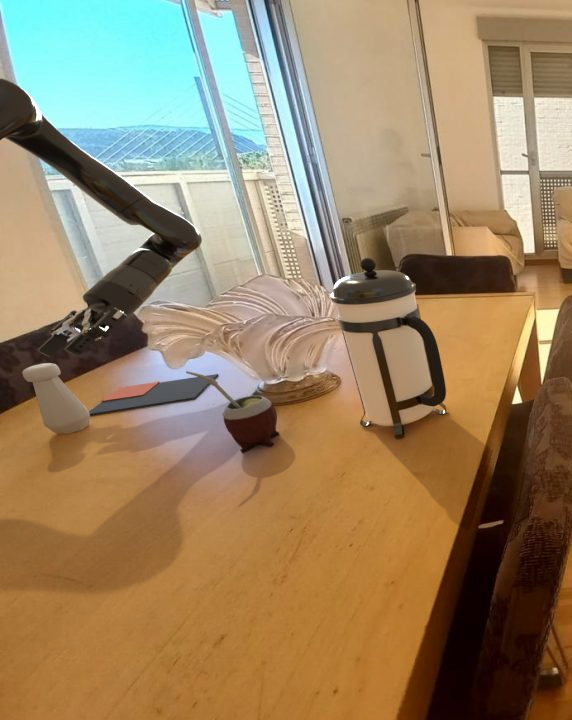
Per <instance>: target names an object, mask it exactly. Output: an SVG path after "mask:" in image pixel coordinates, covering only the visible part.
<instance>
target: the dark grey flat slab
mask: <svg viewBox="0 0 572 720" xmlns="http://www.w3.org/2000/svg"><path fill="white" fill-rule="evenodd" d="M218 375H219V373H215V374H208V375H206V376H207V377H209V378H211V379H215V378H216V377H217V376H218ZM218 377H219V376H218ZM218 377H217V378H218ZM217 378H216V379H217ZM216 379H215V380H216ZM209 384H210V383H209V381H207V380H205V379H203V378H201V377H197V376H194V377H187V378H181V379H173V380H168V381H161V382H160V381H154V382H147V383H140V384H135V385H133V384H132V385H128V386H121V387H119V388H117V389H116V390H115V391H112V392H111V393H110V394H108V395H107V396H106V397H105V398H103V399H102V400H101V402H100V403H98V404H97V405H95V406H94V407H92V409H90V410H88V411H89V414H90V417H92V416H97V415H104V414H109V413H115V412H121V411H122V412H123V411H128V410H134V409H140V408H141V409H142V408H147V407H155V406H160V405H166V404H167V405H168V404H172V403H179V402H185V401H191V400H196V399H197V398H198V397H199V396H200V395H201V394H202V393H203V392H204V391H205V390H206V389H207V388H208V387H209V386H210V385H211V384H210V385H209ZM208 385H209V386H208ZM207 386H208V387H207ZM205 388H206V389H205Z"/></svg>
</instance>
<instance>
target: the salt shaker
mask: <svg viewBox="0 0 572 720" xmlns="http://www.w3.org/2000/svg"><path fill="white" fill-rule="evenodd" d="M61 374H62V372H61V369H60V367H59V366H58V365H57V364H56V363H52V362H45V363H44V362H43V363H38V364H35V365H31V366H29V367H26V368H25V369H23V370H22V377H23V378H24V380H25V381H26V382H28V383H32V385H33V388H34V392H35V396H36V401H37V405H38V408H39V411H40V415H41V419H42V422H43V426H44V427H45V428H47V429H48V430H50V431H52V433H54V434H56V435H68V434H72V433H77V432H79V431H82V430H84V429H85V428H87V427H89V426H90V418H91V416H90V414H89V411H90V410H88V408H87V407H86V406H85V405H84V404H83V403H82V402H81V401H80V400H79V398H78V397H77V396H76V395H75V394H74V393H73V392H72V391H71V390H70V388H69V387H68V386H67V385H66V384H65V383H64V382H63V380H62V379H61V378H60V377H59V376H60V375H61Z"/></svg>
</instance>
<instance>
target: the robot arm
mask: <svg viewBox="0 0 572 720" xmlns="http://www.w3.org/2000/svg"><path fill="white" fill-rule="evenodd" d="M4 139H6V140H8V141H10V142H11V143H13V144H15V145H16V146H18V147H20V148H22V150H24V151H27V152H28V153H30V154H31V155H33V156H35V157H36V158H37V159H39V160H41V161H43V162H44V163H45V164H47V165H48V166H49V167H51V168H52V169H54V170H55V171H57V172H58V173H59V174H60V175H62V176H63V177H64V178H66V179H67V180H68V181H70V183H72V184H73V185H74V186H76V187H77V188H78V189H79V190H81V191H82V192H83V193H85V195H87V196H88V197H90V199H93V201H95V202H96V203H97V204H99V205H100V206H102V207H103V208H104V209H105V210H106V211H109V212H110V213H111V214H113V216H115V217H116V218H118V219H119V220H121V221H123V222H124V223H126V224H128V225H130V226H141V227H143V228H145V229H146V230H148V231H149V232H152V234H151V235H149V237H148V238H147V239H146V240H145V241H144V242H143V243H142V244H141V246H140V247H139V248H138V249H137V250H135V251H133V252H132V253H131V254H129V255H128V256H127V257H126V258H125V259H124V260H122V262H120V264H118V265H117V266H116V267H114V268H113V269H110V271H108V272H107V273H106V274H105V275H104V276H103V277H101V278H100V279H99V280H98V281H97V282H96V283H95V284H94V285H93V286H91V287H90V288H89V289H88V290H87V291H86V292H85V293H84V294H83V295H82V300H83V301H84V303H86V305H87V307H85V308H84V309H80V310H78V311H77V310H75V309H74V310H71V311H70V312H69V313H68V314H67V315H66V316H65V317H63V318H62V319H61V320H60V321H59V322H58V323H56V325H55V326H53V327H52V328H51V329H50V330H49V331H48V333H49V334H50V335H51V336H50V337H49V338H48V339H47V340H46V341H45V342H44V343H42V345H41V346H39V347H38V348H37V352H38V353H40V354H42V355H43V356H46V357H54V356H55V355H56V354H57V353H59V351H60V350H61V349H62V348H64V351H65V352H67V353H68V354H71V355H72V356H81V355H82V354H83V353H84V352H85V351H87V349H88V348H89V347H90V346H91V345H92V344H93V343H94V342H98V341H99V340H100V339H102V338H103V339H106V338H108V337H109V336H110V335H111V334H112V333H113V332H114V331H115V329H117V328H118V326H120V324H122V322H123V321H125V320H127V319H129V318H130V317H131V316H132V315H133V314H134V313H135V312H136V311H137V310H138V309H139V308H140V307H141V306H142V305H144V303H145V302H146V301H147V300H148V299H149V298H150V297H151V296H152V295H153V293H154V292H155V290H157V288H158V287H159V286H160V285H161V284H162V283H163V282H164V281H165V280H166V279H167V278H168V277H169V275H170V274H171V273H172V271H173V268H175V267H176V266H177V265H178V264H179V263H180V262H181V261H182V260H183V259H185V258H186V257H187V256H188V255H190V254H191V253H193V252H194V251H196V250H198V249H199V248H200V247H201V244H202V242H203V240H202V239H203V237H202V235H201V233H200V231H199V230H198V229H197V227H195V225H194V224H192V223H191V222H190V221H188V220H187V219H185V218H184V217H182V216H181V215H179V214H177V213H175V212H173V211H171V210H170V209H168V208H166V207H165V206H162V205H161V204H158V203H156V202H155V201H153V200H152V199H151V198H150V197H149V196H147V195H146V194H145V193H143V192H142V191H140V190H139V189H138V188H137V187H135V186H134V184H132V183H130V182H129V181H128V180H127V179H125V178H124V177H123V176H121V175H120V174H118V173H117V172H115V171H114V170H112V169H111V168H109V167H108V166H107V165H105V164H104V163H102V162H101V161H99V160H98V159H96V158H94V157H93V156H91V155H90V154H89V153H87V152H86V151H84V150H83V149H82V148H81V147H79V146H78V145H77V144H75V143H74V142H73V141H71V139H69V138H68V137H67V136H66V135H64V134H63V133H62V132H61V131H60V130H59V129H58V128H57V127H56V126H54V124H52V122H51V121H50V120H49V119H47V117H46V116H45V115H44V114H42V112H41V111H40V109H39V107H38V105H37V104H36V102H35V100H34V99H33V98H32V97H31V95H30V94H29V93H28V92H27V91H26V90H24V89H23V88H22V87H21V86H19V85H18V84H16V83H14V82H13V81H10V80H8V79H5V78H2V77H0V141H2V140H4ZM65 331H66V332H65ZM70 341H71V342H70ZM69 342H70V343H69ZM68 343H69V344H68Z"/></svg>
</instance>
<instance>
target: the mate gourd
mask: <svg viewBox="0 0 572 720" xmlns="http://www.w3.org/2000/svg"><path fill="white" fill-rule="evenodd" d="M185 373H186V374H188V375H191V376H194V377H201V378H203V379H205V380H207V381H209V383H210V385H211V386H212V387H214V388H216V390H217V391H218V392H219V393H220V394H222V395H223V396H224V397H225V399H226V400H228V401H229V403H227V405H226V406H225V408H224V410H223V412H222V417H223V423H224V425H225V428H226V430H227V431H228V433H229V434H230V435H231V437H232V439H233V440H234V442H236V444H237V445H238V446H239V447H240V449H239V451H240V452H241V453H242V454H243V453H246V452H248V451H250V450H253V449H254V448H256V447H258V446H263V447H267V448H272V447H274V446H275V443H274V442H273V441H272V440H271V439H273V438H275V437H278V436H279V435H280V431H278V430H277V423H278V414H277V410H276V408H275V407H274V405H273V404H272V402H271V401H270V400H269V399H268V398H267V397H265V396H263V395H258V394H257V395H256V394H255V395H249V396H248V395H247V396H243V397H240V398H237V399H234V398H233V397H231V396H230V395H229V393H227V392H226V391H225V390H224V389H223V388H222V387H221V386H220V385H219V383H218V382H217V381H216V379H215V380H214V379H211V378H209V377H207V375H204V374H201V373H197V372H193V371H189V370H186V371H185Z"/></svg>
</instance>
